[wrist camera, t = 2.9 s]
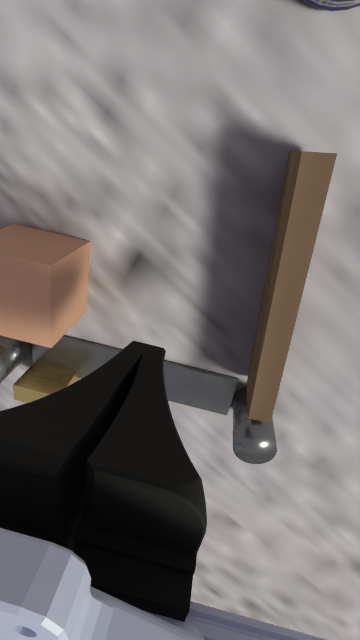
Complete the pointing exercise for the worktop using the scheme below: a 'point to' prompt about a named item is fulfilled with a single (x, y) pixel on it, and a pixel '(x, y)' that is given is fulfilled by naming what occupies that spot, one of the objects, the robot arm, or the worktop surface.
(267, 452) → the frame
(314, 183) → the brown long flat bar
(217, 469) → the worktop surface
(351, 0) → the energy drink
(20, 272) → the block
